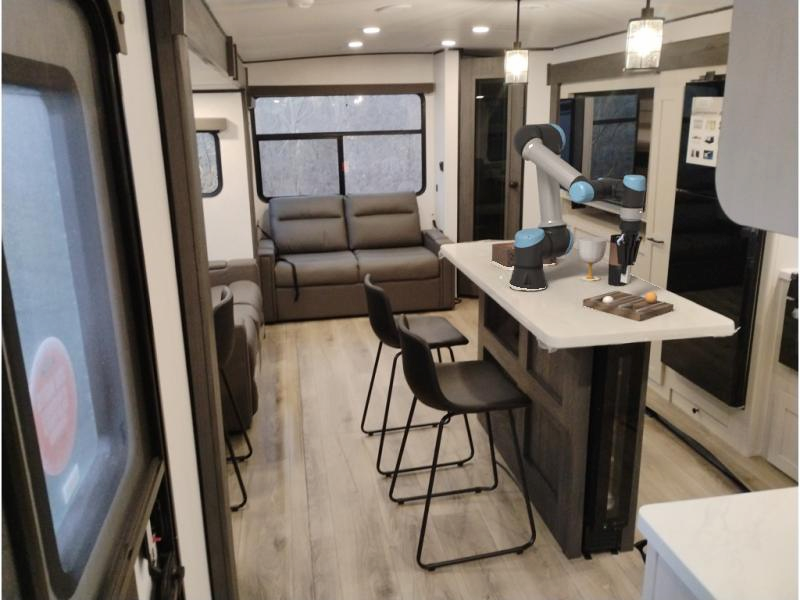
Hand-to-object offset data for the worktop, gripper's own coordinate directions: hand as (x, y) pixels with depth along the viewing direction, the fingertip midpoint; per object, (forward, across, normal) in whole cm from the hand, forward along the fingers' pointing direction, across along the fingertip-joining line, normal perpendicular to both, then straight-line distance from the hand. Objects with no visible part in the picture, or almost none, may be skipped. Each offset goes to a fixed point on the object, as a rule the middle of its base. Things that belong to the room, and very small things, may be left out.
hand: (624, 282), depth 240 cm
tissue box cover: (+10, +16, +67) cm, 70 cm away
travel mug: (+8, +19, +17) cm, 27 cm away
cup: (+9, +18, +30) cm, 36 cm away
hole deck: (+7, -7, -7) cm, 12 cm away
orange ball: (+3, -2, -13) cm, 13 cm away
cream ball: (+5, -10, -1) cm, 12 cm away
